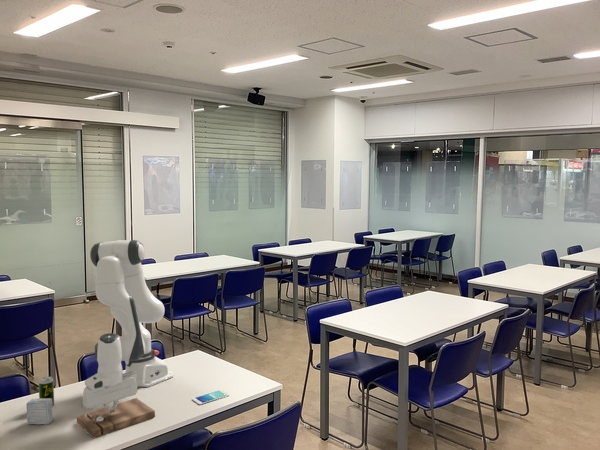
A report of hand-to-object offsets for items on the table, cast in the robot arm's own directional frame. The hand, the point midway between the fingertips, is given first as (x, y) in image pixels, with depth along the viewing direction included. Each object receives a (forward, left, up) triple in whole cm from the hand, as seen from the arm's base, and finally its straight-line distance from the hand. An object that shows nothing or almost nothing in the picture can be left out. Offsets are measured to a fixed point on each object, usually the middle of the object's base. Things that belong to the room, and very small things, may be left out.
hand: (111, 412), depth 192 cm
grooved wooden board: (-2, 0, -4) cm, 4 cm away
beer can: (+14, -30, -4) cm, 33 cm away
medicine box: (+20, -18, -4) cm, 27 cm away
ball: (+3, 0, -2) cm, 4 cm away
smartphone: (-40, +8, -4) cm, 41 cm away
